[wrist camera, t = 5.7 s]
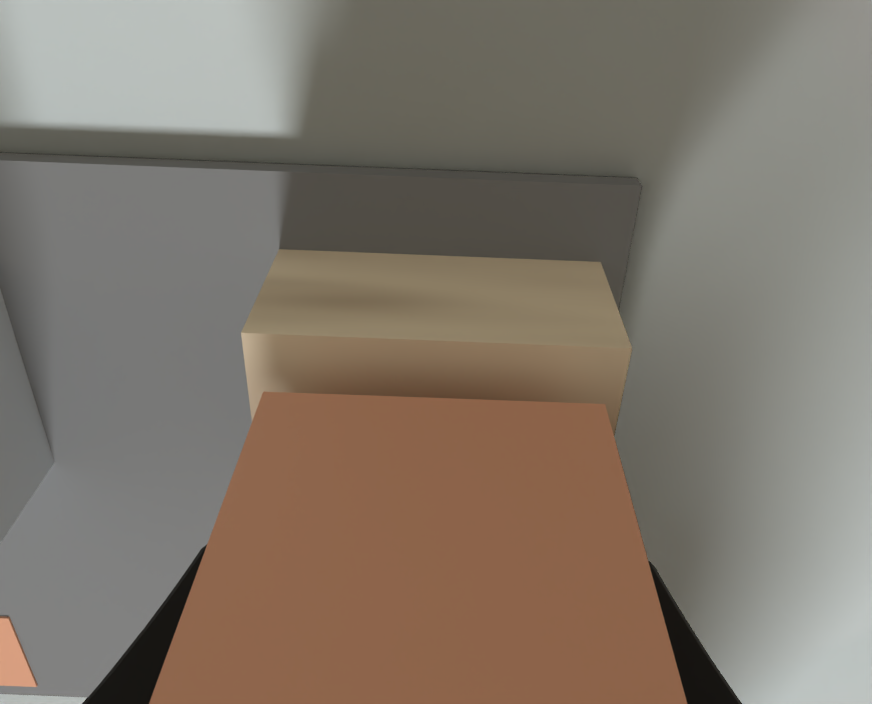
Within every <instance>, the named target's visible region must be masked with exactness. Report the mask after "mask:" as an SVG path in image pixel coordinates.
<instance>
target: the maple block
mask: <svg viewBox="0 0 872 704" xmlns="http://www.w3.org/2000/svg"><path fill="white" fill-rule="evenodd" d="M241 337H242V345H243V354H244V362H245V370H246V378H247V386H248V394H249V402H250V410H251V418H252V421H253V418H254V415H255V412H256V410H257V407H258V404H259V402H260V399H261V396H262V393H263V392H288V393H315V394H343V395H370V396H398V397H426V398H453V399H481V400H508V401H536V402H563V403H591V404H605V405H606V409H607V413H608V416H609V420H610V424H611V427H612V431H613V434H614V435H615V430H616V425H617V420H618V415H619V410H620V405H621V401H622V396H623V391H624V386H625V381H626V376H627V371H628V367H629V362H630V357H631V352H632V346H631V344H630V341H629V338H628V335H627V333H626V330H625V327H624V324H623V322H622V319H621V316H620V313H619V311H618V308H617V305H616V302H615V300H614V297H613V294H612V292H611V289H610V286H609V283H608V281H607V278H606V275H605V272H604V270H603V267H602V264H601V262H590V261H564V260H539V259H514V258H489V257H464V256H438V255H413V254H388V253H363V252H338V251H312V250H287V249H279V250H278V253H277V255H276V257H275V259H274V261H273V264H272V266H271V268H270V270H269V272H268V275H267V277H266V279H265V281H264V283H263V286H262V288H261V290H260V292H259V294H258V296H257V299H256V301H255V303H254V305H253V307H252V310H251V312H250V314H249V316H248V318H247V321H246V323H245V325H244V327H243V329H242V332H241Z"/></svg>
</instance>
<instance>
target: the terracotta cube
mask: <svg viewBox="0 0 872 704" xmlns="http://www.w3.org/2000/svg"><path fill="white" fill-rule="evenodd" d="M149 704H687V701H686V697H685V693H684V690H683V686H682V682H681V679H680V675H679V672H678V668H677V664H676V661H675V657H674V653H673V650H672V646H671V642H670V639H669V635H668V631H667V628H666V624H665V620H664V617H663V613H662V610H661V606H660V602H659V599H658V595H657V591H656V588H655V584H654V580H653V577H652V573H651V569H650V566H649V562H648V558H647V555H646V551H645V548H644V544H643V540H642V537H641V533H640V529H639V526H638V522H637V518H636V515H635V511H634V507H633V504H632V500H631V496H630V493H629V489H628V486H627V482H626V478H625V475H624V471H623V467H622V464H621V460H620V456H619V453H618V449H617V445H616V442H615V438H614V434H613V431H612V427H611V424H610V420H609V416H608V413H607V409H606V405H605V404H591V403H563V402H536V401H508V400H481V399H453V398H426V397H398V396H370V395H343V394H315V393H288V392H263V393H262V396H261V399H260V402H259V404H258V407H257V410H256V412H255V415H254V418H253V421H252V423H251V426H250V429H249V432H248V434H247V437H246V440H245V443H244V445H243V448H242V451H241V453H240V456H239V459H238V462H237V464H236V467H235V470H234V473H233V475H232V478H231V481H230V484H229V486H228V489H227V492H226V495H225V497H224V500H223V503H222V505H221V508H220V511H219V514H218V516H217V519H216V522H215V525H214V527H213V530H212V533H211V536H210V538H209V541H208V544H207V546H206V549H205V552H204V555H203V557H202V560H201V563H200V566H199V568H198V571H197V574H196V577H195V579H194V582H193V585H192V587H191V590H190V593H189V596H188V598H187V601H186V604H185V607H184V609H183V612H182V615H181V618H180V620H179V623H178V626H177V629H176V631H175V634H174V637H173V639H172V642H171V645H170V648H169V650H168V653H167V656H166V659H165V661H164V664H163V667H162V670H161V672H160V675H159V678H158V680H157V683H156V686H155V689H154V691H153V694H152V697H151V700H150V702H149Z"/></svg>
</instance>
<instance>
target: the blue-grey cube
mask: <svg viewBox="0 0 872 704" xmlns="http://www.w3.org/2000/svg"><path fill="white" fill-rule="evenodd" d="M53 464H54V459H53V456H52V453H51V450H50V447H49V443H48V440H47V437H46V434H45V431H44V427H43V424H42V421H41V418H40V415H39V411H38V408H37V405H36V402H35V399H34V396H33V392H32V389H31V386H30V383H29V380H28V376H27V373H26V370H25V367H24V364H23V360H22V357H21V354H20V351H19V348H18V344H17V341H16V338H15V335H14V332H13V328H12V325H11V322H10V319H9V316H8V312H7V309H6V306H5V303H4V300H3V296H2V293H1V290H0V543H1V541H2V540H3V538H4V537H5V535H6V534H7V532H8V531H9V529H10V528H11V526H12V525H13V523H14V522H15V520H16V519H17V517H18V516H19V514H20V513H21V511H22V510H23V508H24V507H25V505H26V504H27V502H28V501H29V499H30V498H31V497H32V495H33V494H34V492H35V491H36V489H37V488H38V486H39V485H40V483H41V482H42V480H43V479H44V477H45V476H46V474H47V473H48V471H49V470H50V468H51V467H52V465H53Z"/></svg>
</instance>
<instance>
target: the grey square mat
mask: <svg viewBox="0 0 872 704" xmlns="http://www.w3.org/2000/svg"><path fill="white" fill-rule="evenodd" d="M641 189H642V185H641V183H640V182H639V180H638V178H626V177H601V176H576V175H551V174H525V173H500V172H475V171H450V170H425V169H400V168H374V167H349V166H324V165H299V164H274V163H249V162H223V161H198V160H173V159H148V158H123V157H98V156H72V155H47V154H22V153H0V290H1V293H2V296H3V300H4V303H5V306H6V309H7V312H8V316H9V319H10V322H11V325H12V328H13V332H14V335H15V338H16V341H17V344H18V348H19V351H20V354H21V357H22V360H23V364H24V367H25V370H26V373H27V376H28V380H29V383H30V386H31V389H32V392H33V396H34V399H35V402H36V405H37V408H38V411H39V415H40V418H41V421H42V424H43V427H44V431H45V434H46V437H47V440H48V443H49V447H50V450H51V453H52V456H53V459H54V464H53V465H52V467H51V468H50V470H49V471H48V473H47V474H46V476H45V477H44V479H43V480H42V482H41V483H40V485H39V486H38V488H37V489H36V491H35V492H34V494H33V495H32V497H31V498H30V499H29V501H28V502H27V504H26V505H25V507H24V508H23V510H22V511H21V513H20V514H19V516H18V517H17V519H16V520H15V522H14V523H13V525H12V526H11V528H10V529H9V531H8V532H7V534H6V535H5V537H4V538H3V540H2V541H1V543H0V694H16V695H42V696H67V697H89V695H90V694H91V693H92V692H93V691H94V690H95V689H96V687H97V686H98V685H99V684H100V683H101V681H102V680H103V679H104V678H105V677H106V675H107V674H108V673H109V672H110V670H111V669H112V668H113V667H114V665H115V664H116V663H117V662H118V660H119V659H120V658H121V657H122V655H123V654H124V653H125V652H126V650H127V649H128V648H129V647H130V645H131V644H132V643H133V642H134V640H135V639H136V638H137V636H138V635H139V634H140V633H141V631H142V630H143V629H144V628H145V626H146V625H147V624H148V622H149V621H150V620H151V618H152V617H153V616H154V614H155V613H156V612H157V610H158V609H159V608H160V606H161V605H162V604H163V602H164V601H165V600H166V598H167V597H168V595H169V594H170V593H171V591H172V590H173V589H174V587H175V586H176V584H177V583H178V582H179V580H180V579H181V577H182V576H183V575H184V573H185V572H186V570H187V569H188V567H189V566H190V565H191V563H192V562H193V560H194V559H195V557H196V556H197V554H198V553H199V551H200V550H201V549H202V548H203V547H204V546H205V545H207V544H208V541H209V538H210V536H211V533H212V530H213V527H214V525H215V522H216V519H217V516H218V514H219V511H220V508H221V505H222V503H223V500H224V497H225V495H226V492H227V489H228V486H229V484H230V481H231V478H232V475H233V473H234V470H235V467H236V464H237V462H238V459H239V456H240V453H241V451H242V448H243V445H244V443H245V440H246V437H247V434H248V432H249V429H250V426H251V423H252V418H251V410H250V402H249V394H248V386H247V378H246V370H245V362H244V354H243V345H242V337H241V332H242V329H243V327H244V325H245V323H246V321H247V318H248V316H249V314H250V312H251V310H252V307H253V305H254V303H255V301H256V299H257V296H258V294H259V292H260V290H261V288H262V286H263V283H264V281H265V279H266V277H267V275H268V272H269V270H270V268H271V266H272V264H273V261H274V259H275V257H276V255H277V253H278V250H279V249H287V250H312V251H338V252H363V253H388V254H413V255H438V256H464V257H489V258H514V259H539V260H564V261H590V262H601V264H602V267H603V270H604V272H605V275H606V278H607V281H608V283H609V286H610V289H611V292H612V294H613V297H614V300H615V302H616V305H617V308H618V311H619V305H620V300H621V295H622V289H623V284H624V279H625V274H626V268H627V263H628V258H629V252H630V247H631V242H632V236H633V231H634V226H635V220H636V215H637V210H638V204H639V199H640V194H641Z"/></svg>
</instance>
